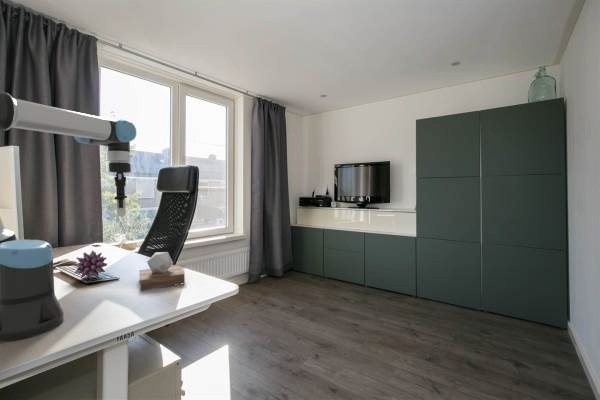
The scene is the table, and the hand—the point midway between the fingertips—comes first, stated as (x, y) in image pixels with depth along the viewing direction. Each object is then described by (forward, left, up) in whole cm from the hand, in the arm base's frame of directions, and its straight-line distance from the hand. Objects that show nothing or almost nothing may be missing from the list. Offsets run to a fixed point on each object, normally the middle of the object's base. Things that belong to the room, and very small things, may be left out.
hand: (121, 215), depth 121 cm
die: (-11, -13, -23) cm, 28 cm away
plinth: (-11, -13, -27) cm, 32 cm away
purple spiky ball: (+10, +12, -27) cm, 31 cm away
